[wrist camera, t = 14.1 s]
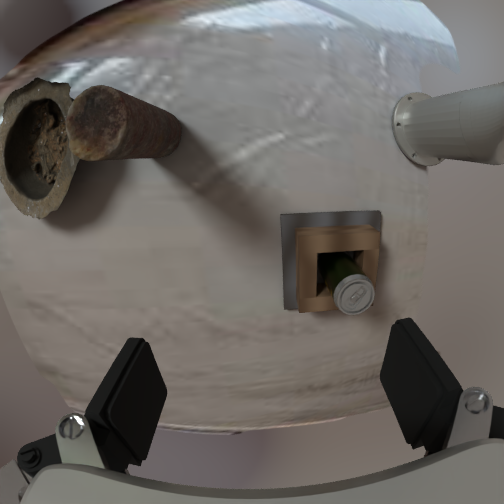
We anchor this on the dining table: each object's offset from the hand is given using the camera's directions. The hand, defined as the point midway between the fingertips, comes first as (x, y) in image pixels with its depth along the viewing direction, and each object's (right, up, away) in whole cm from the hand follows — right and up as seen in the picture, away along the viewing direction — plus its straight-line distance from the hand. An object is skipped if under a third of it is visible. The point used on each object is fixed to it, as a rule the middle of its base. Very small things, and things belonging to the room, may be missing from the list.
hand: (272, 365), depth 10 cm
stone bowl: (-38, +24, +28) cm, 53 cm away
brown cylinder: (-14, +22, +28) cm, 38 cm away
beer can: (+12, +3, +33) cm, 35 cm away
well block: (+12, +3, +34) cm, 36 cm away
